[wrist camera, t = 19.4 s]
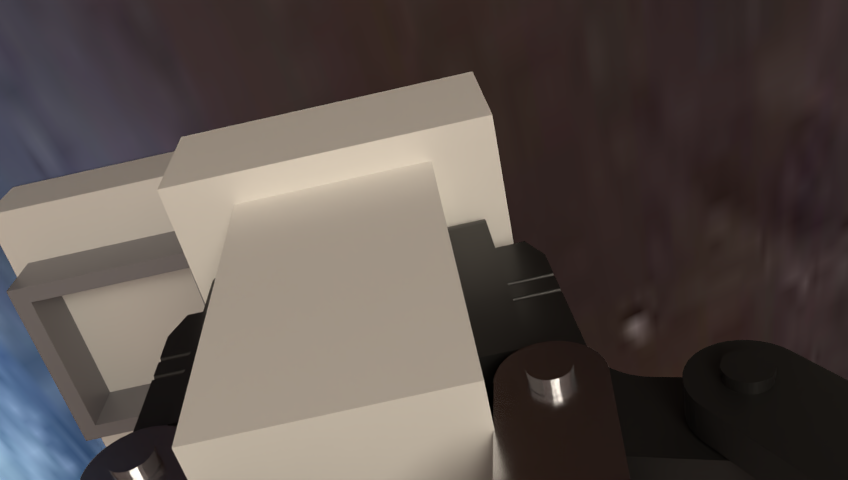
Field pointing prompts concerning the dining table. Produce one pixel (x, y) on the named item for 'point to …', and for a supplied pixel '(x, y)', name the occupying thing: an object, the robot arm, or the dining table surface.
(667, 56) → the dining table surface
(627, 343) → the dining table surface
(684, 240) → the dining table surface
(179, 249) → the white stepped base
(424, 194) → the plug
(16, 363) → the dining table surface
